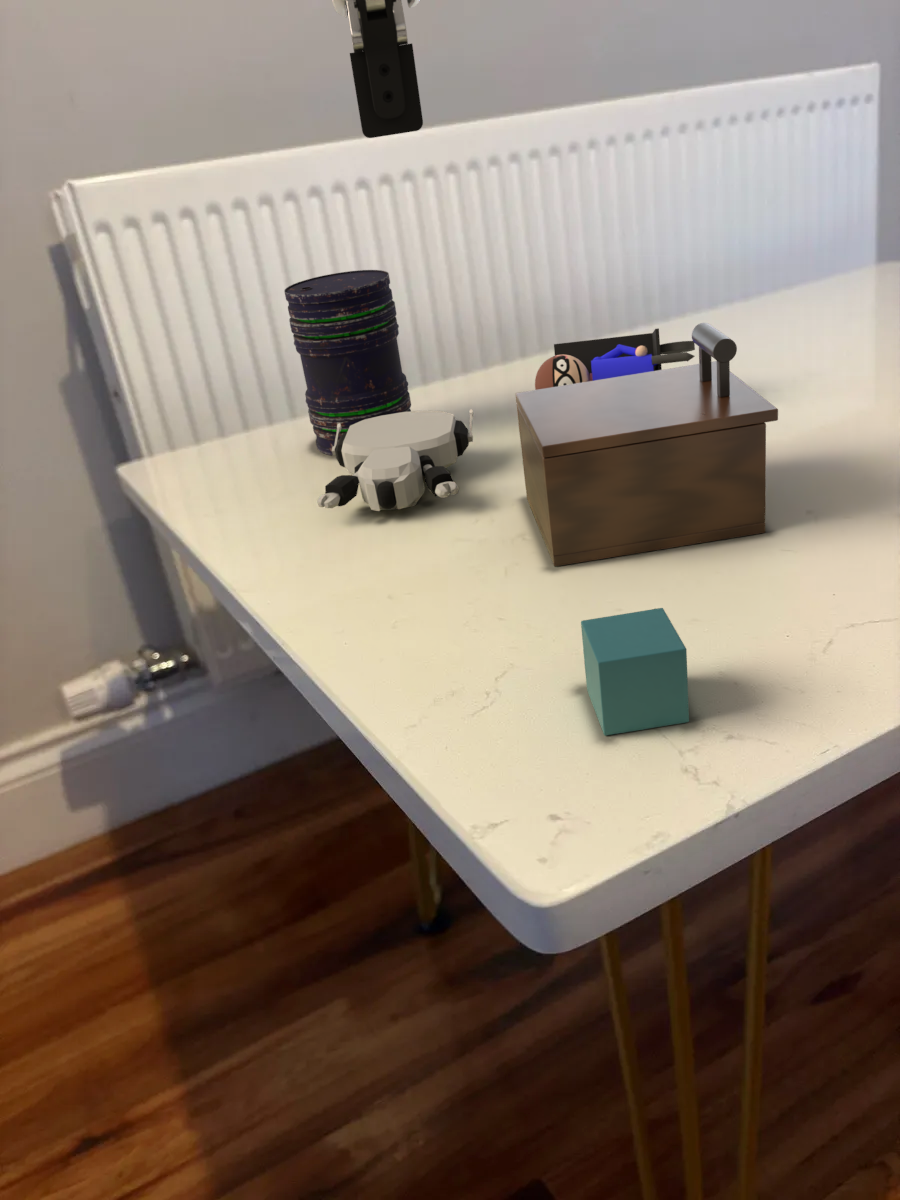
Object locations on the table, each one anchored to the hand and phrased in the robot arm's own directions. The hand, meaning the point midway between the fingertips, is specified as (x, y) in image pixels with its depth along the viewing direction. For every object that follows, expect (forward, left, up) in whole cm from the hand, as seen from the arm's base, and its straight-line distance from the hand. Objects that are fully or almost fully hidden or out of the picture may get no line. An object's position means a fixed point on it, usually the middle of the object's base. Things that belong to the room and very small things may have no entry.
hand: (390, 129), depth 58 cm
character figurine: (-18, -28, -28) cm, 43 cm away
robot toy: (+3, -18, -28) cm, 34 cm away
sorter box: (-14, -5, -28) cm, 32 cm away
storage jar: (+6, -33, -28) cm, 44 cm away
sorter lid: (-14, -5, -20) cm, 25 cm away
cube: (-8, +19, -28) cm, 35 cm away
